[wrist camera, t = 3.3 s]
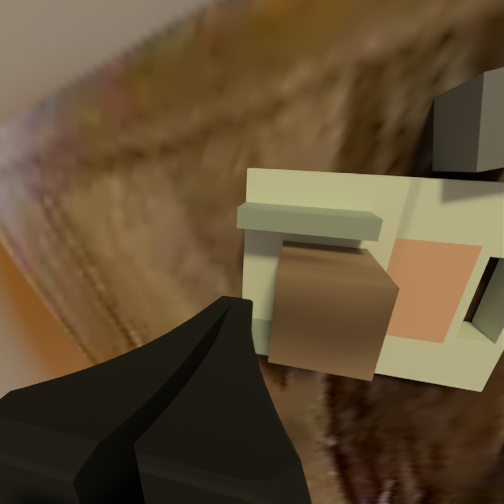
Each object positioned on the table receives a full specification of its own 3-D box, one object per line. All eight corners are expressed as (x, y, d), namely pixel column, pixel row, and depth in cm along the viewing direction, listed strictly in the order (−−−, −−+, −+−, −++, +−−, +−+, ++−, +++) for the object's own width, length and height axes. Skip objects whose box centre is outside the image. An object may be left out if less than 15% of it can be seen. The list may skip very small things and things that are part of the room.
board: (460, 366, 16) (508, 425, 13) (245, 330, 19) (232, 371, 15) (544, 184, 12) (652, 192, 8) (254, 168, 14) (238, 168, 11)
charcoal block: (510, 156, 12) (588, 152, 9) (431, 170, 13) (476, 172, 10) (519, 76, 11) (611, 39, 8) (433, 98, 12) (484, 72, 9)
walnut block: (350, 318, 14) (371, 380, 10) (276, 308, 15) (267, 361, 11) (366, 249, 13) (399, 288, 9) (283, 240, 14) (276, 273, 9)
